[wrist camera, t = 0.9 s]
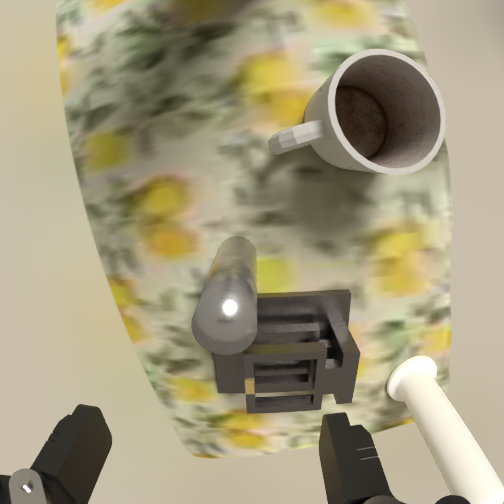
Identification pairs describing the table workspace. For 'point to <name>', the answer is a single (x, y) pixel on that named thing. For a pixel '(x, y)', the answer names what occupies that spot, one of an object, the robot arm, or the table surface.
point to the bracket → (295, 353)
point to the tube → (229, 300)
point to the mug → (372, 116)
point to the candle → (445, 432)
